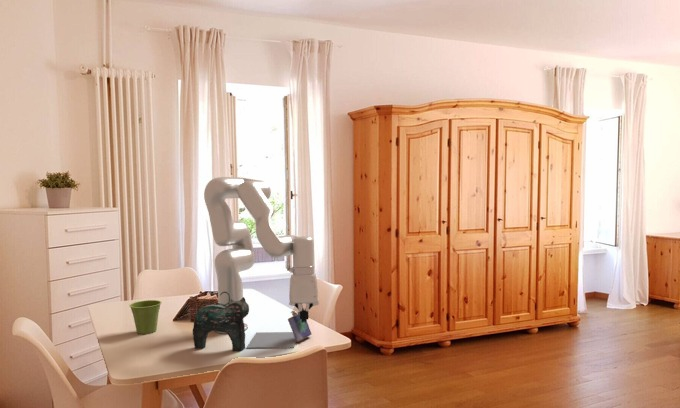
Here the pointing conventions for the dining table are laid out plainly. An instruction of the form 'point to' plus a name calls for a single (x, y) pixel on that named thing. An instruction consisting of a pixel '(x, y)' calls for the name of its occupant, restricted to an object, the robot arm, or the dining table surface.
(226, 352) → the dining table surface
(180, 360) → the dining table surface
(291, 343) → the mat
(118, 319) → the dining table surface
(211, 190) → the robot arm
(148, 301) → the plant pot
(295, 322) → the flask
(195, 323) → the ceramic cat
